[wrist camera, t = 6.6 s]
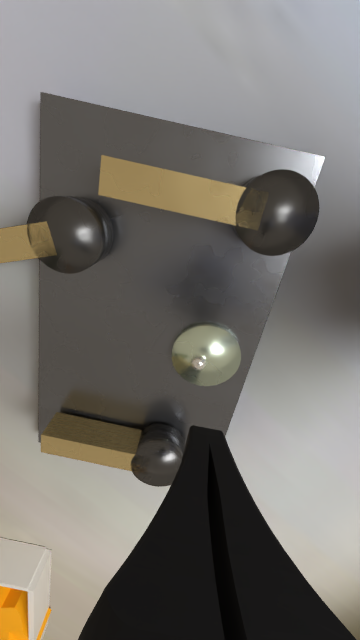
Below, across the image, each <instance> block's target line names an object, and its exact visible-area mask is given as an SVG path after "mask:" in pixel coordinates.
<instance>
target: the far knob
mask: <svg viewBox="0 0 360 640" xmlns="http://www.w3.org/2000/svg"><path fill="white" fill-rule="evenodd" d="M184 448H185V440H184V437H183V435H182V434H181V433H180V432H179V431H178V430H177V429H175V428H174V427H172V426H169V425H165V424H153V425H149V426H147V427H145V428H144V429H142V430H139V429H134V428H129V427H125V426H120V425H115V424H111V423H106V422H101V421H97V420H92V419H87V418H82V417H78V416H73V415H68V414H64V413H59V412H56V414H55V415H54V417H53V418H52V420H51V421H50V422H49V424H48V425H47V427H46V428H45V430H44V431H43V433H42V434H41V452H44V453H49V454H53V455H58V456H63V457H67V458H72V459H77V460H82V461H86V462H91V463H96V464H101V465H105V466H110V467H115V468H119V469H124V470H129V471H132V472H133V474H134V475H135V476H136V477H137V478H138V479H139V480H140V481H142V482H144V483H146V484H148V485H152V486H168V485H171V484H172V482H173V480H174V478H175V476H176V474H177V471H178V469H179V467H180V464H181V461H182V456H183V452H184Z"/></svg>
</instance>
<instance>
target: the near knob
mask: <svg viewBox="0 0 360 640" xmlns="http://www.w3.org/2000/svg"><path fill="white" fill-rule="evenodd" d="M113 239H114V232H113V226H112V223H111V220H110V218H109V216H108V215H107V213H106V212H105V210H104V209H103V208H102V207H101V206H100V205H98V204H97V203H96V202H94V201H92V200H90V199H88V198H84V197H75V196H52V197H48V198H45V199H43V200H41V201H40V202H39V203H37V204H36V205H35V206H34V208H33V209H32V211H31V212H30V215H29V217H28V222H27V224H26V225H20V226H14V227H7V228H1V229H0V263H5V262H12V261H19V260H26V259H33V258H39V259H40V260H41V261H42V262H43V263H44V264H45V265H46V266H48V267H49V268H51V269H53V270H55V271H58V272H61V273H67V274H73V273H79V272H82V271H84V270H86V269H87V268H89V267H91V266H92V265H94V264H96V263H97V262H99V261H101V260H102V259H103V258H105V257H106V256H107V254H108V253H109V251H110V250H111V247H112V244H113Z"/></svg>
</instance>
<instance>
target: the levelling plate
mask: <svg viewBox="0 0 360 640" xmlns="http://www.w3.org/2000/svg"><path fill="white" fill-rule="evenodd" d="M101 155H104V156H109V157H113V158H118V159H122V160H127V161H131V162H135V163H140V164H144V165H149V166H153V167H158V168H162V169H167V170H171V171H175V172H180V173H184V174H189V175H193V176H198V177H202V178H207V179H211V180H215V181H220V182H224V183H229V184H233V185H238V186H242V187H243V186H244V185H245V184H246V183H247V182H248V181H250V180H251V179H253V178H255V177H257V176H259V175H262V174H264V173H267V172H269V171H273V170H278V169H287V170H292V171H295V172H298V173H300V174H302V175H303V176H305V177H306V178H307V179H308V180H309V181H310V182H311V183H312V185H313V186H314V187H315V184H316V181H317V179H318V176H319V173H320V170H321V168H322V165H323V162H324V159H325V157H324V156H320V155H316V154H311V153H307V152H302V151H298V150H294V149H289V148H285V147H280V146H276V145H272V144H267V143H263V142H258V141H254V140H250V139H245V138H241V137H236V136H232V135H228V134H223V133H219V132H214V131H210V130H206V129H201V128H197V127H192V126H188V125H184V124H179V123H175V122H170V121H166V120H162V119H157V118H153V117H148V116H144V115H140V114H135V113H131V112H126V111H122V110H118V109H113V108H109V107H104V106H100V105H96V104H91V103H87V102H82V101H78V100H74V99H69V98H65V97H60V96H56V95H52V94H47V93H43V92H41V125H40V201H41V200H43V199H45V198H48V197H52V196H75V197H84V198H88V199H90V200H92V201H94V202H96V203H97V204H98V205H100V206H101V207H102V208H103V209H104V210H105V212H106V213H107V215H108V216H109V218H110V220H111V223H112V226H113V232H114V239H113V244H112V247H111V250H110V251H109V253H108V254H107V256H106V257H105V258H103V259H102V260H101V261H99V262H97V263H96V264H94V265H92V266H91V267H89V268H87V269H86V270H84V271H82V272H79V273H73V274H67V273H61V272H58V271H55V270H53V269H51V268H49V267H48V266H46V265H45V264H44V263H43V262H42V261H41V260H40V290H39V442H40V443H41V434H42V433H43V431H44V430H45V428H46V427H47V425H48V424H49V422H50V421H51V420H52V418H53V417H54V415H55V414H56V412H59V413H64V414H68V415H73V416H78V417H82V418H87V419H92V420H97V421H101V422H106V423H111V424H115V425H120V426H125V427H129V428H134V429H139V430H142V429H144V428H145V427H147V426H149V425H153V424H165V425H169V426H172V427H174V428H175V429H177V430H178V431H179V432H180V433H181V434H182V435H183V437H184V440H185V444H186V440H187V436H188V432H189V428H190V427H191V426H193V425H194V426H200V427H205V428H210V429H215V430H220V431H222V432H223V433H224V436H225V435H226V432H227V430H228V427H229V424H230V421H231V418H232V416H233V413H234V410H235V407H236V404H237V402H238V399H239V396H240V393H241V390H242V388H243V385H244V382H245V379H246V377H247V374H248V371H249V368H250V365H251V363H252V360H253V357H254V354H255V351H256V349H257V346H258V343H259V340H260V338H261V335H262V332H263V329H264V326H265V324H266V321H267V318H268V315H269V312H270V310H271V307H272V304H273V301H274V299H275V296H276V293H277V290H278V287H279V285H280V282H281V279H282V276H283V273H284V271H285V268H286V265H287V262H288V259H289V257H290V254H291V252H289V253H286V254H282V255H277V256H267V255H262V254H259V253H257V252H254V251H253V250H251V249H250V248H249V247H248V246H246V245H245V244H244V242H243V241H242V240H241V239H240V238H239V237H238V236H237V234H236V233H235V231H234V228H233V225H231V224H227V223H222V222H218V221H213V220H209V219H204V218H200V217H196V216H191V215H187V214H182V213H178V212H173V211H169V210H164V209H160V208H155V207H151V206H146V205H142V204H137V203H133V202H128V201H124V200H119V199H115V198H110V197H106V196H102V195H98V192H99V179H100V167H101Z"/></svg>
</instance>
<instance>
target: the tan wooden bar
mask: <svg viewBox="0 0 360 640" xmlns="http://www.w3.org/2000/svg"><path fill="white" fill-rule="evenodd" d="M98 195H102V196H106V197H110V198H115V199H119V200H124V201H128V202H133V203H137V204H142V205H146V206H151V207H155V208H160V209H164V210H169V211H173V212H178V213H182V214H187V215H191V216H196V217H200V218H204V219H209V220H213V221H218V222H222V223H227V224H231V225H233V228H234V231H235V233H236V234H237V236H238V237H239V238H240V239H241V240H242V241H243V242H244V244H245V245H246V246H248V247H249V248H250V249H251V250H253V251H254V252H257V253H259V254H262V255H267V256H277V255H282V254H286V253H289V252H291V251H293V250H295V249H296V248H298V247H299V246H300V245H301V244H303V243H304V242H305V241H306V240H307V238H308V237H309V236H310V234H311V233H312V231H313V229H314V227H315V225H316V222H317V219H318V214H319V200H318V195H317V193H316V190H315V188H314V186H313V185H312V183H311V182H310V181H309V180H308V179H307V178H306V177H305V176H303V175H302V174H300V173H298V172H295V171H292V170H287V169H278V170H273V171H269V172H267V173H264V174H262V175H259V176H257V177H255V178H253V179H251V180H250V181H248V182H247V183H246V184H245V185H244V186H243V187H242V186H238V185H233V184H229V183H224V182H220V181H215V180H211V179H207V178H202V177H198V176H193V175H189V174H184V173H180V172H175V171H171V170H167V169H162V168H158V167H153V166H149V165H144V164H140V163H135V162H131V161H127V160H122V159H118V158H113V157H109V156H104V155H101V167H100V179H99V192H98Z"/></svg>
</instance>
